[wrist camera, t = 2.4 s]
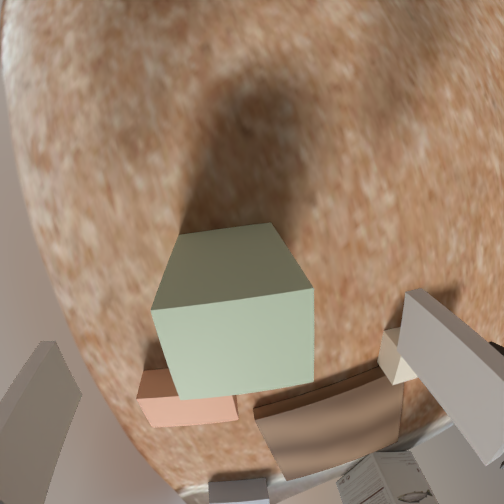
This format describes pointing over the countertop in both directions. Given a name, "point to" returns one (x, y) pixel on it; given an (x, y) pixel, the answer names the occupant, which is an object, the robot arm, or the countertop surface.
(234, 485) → the slate brick
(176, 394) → the terracotta brick
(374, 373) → the walnut board
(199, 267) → the sage brick
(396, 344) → the cream brick
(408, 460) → the supplement box
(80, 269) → the countertop surface
